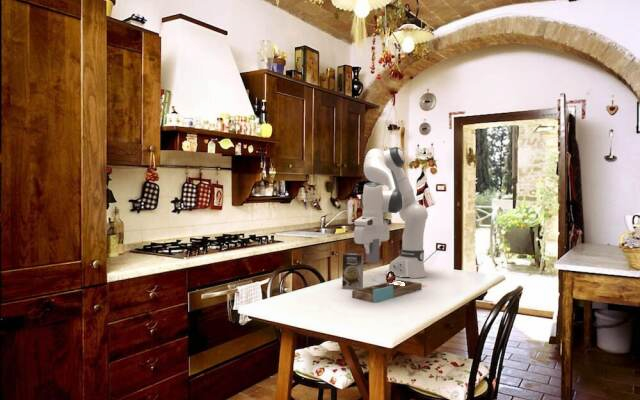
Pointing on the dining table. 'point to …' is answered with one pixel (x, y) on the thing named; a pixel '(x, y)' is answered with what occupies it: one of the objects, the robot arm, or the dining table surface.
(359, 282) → the coffee box
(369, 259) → the tall grey block
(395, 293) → the rack
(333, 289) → the dining table surface
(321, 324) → the dining table surface
